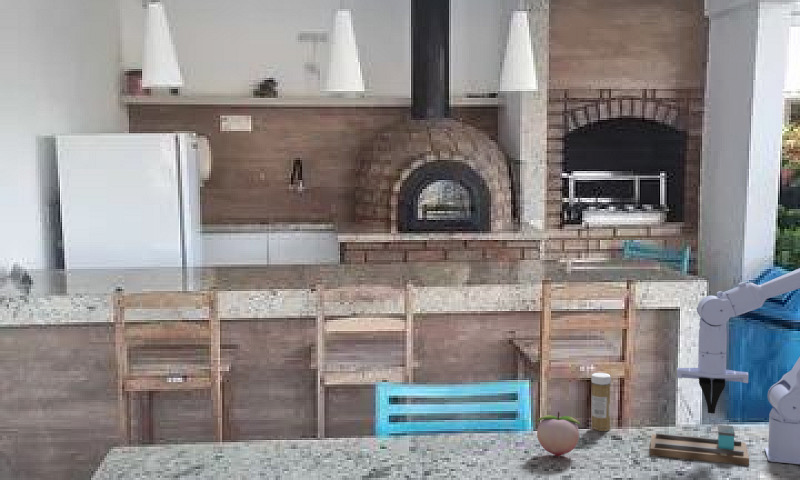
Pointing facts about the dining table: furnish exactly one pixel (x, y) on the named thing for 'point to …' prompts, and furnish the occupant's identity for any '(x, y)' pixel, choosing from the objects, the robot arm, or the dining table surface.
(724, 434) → the fader tab
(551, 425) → the decorative fruit
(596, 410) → the sprinkles bottle
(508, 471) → the dining table surface
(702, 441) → the fader console
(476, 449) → the dining table surface
